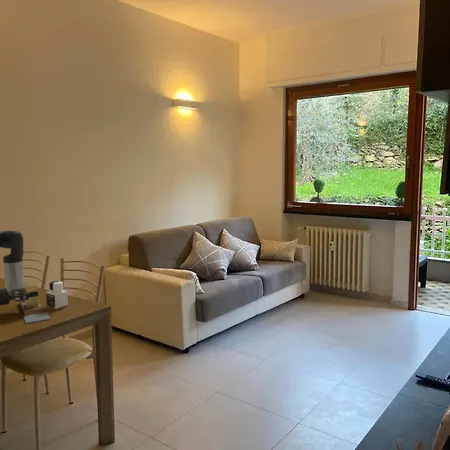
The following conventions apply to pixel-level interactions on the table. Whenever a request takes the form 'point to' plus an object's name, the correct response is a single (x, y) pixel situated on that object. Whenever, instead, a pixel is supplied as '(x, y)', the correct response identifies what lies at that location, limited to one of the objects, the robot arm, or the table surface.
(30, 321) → the rubber mat
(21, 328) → the table surface
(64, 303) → the medicine bottle
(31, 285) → the tan wooden block
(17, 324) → the table surface
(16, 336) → the table surface
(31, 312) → the plane base
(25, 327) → the table surface
